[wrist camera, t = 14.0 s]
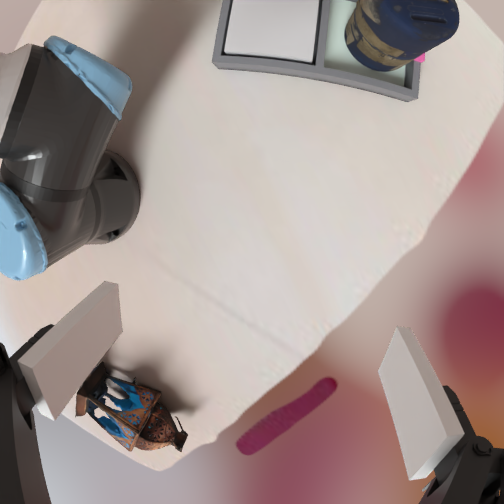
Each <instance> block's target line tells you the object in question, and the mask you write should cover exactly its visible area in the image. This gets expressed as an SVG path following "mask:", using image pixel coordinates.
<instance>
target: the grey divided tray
mask: <svg viewBox="0 0 504 504" xmlns="http://www.w3.org/2000/svg"><path fill="white" fill-rule="evenodd" d="M357 1H358V0H223V2H222V8H221V13H220V18H219V23H218V29H217V34H216V40H215V46H214V52H213V58H212V63H213V64H214V65H215V66H216V67H217V68H218V69H228V70H242V71H254V72H264V73H273V74H281V75H288V76H295V77H301V78H308V79H313V80H319V81H324V82H330V83H335V84H339V85H344V86H349V87H353V88H357V89H362V90H366V91H370V92H374V93H377V94H381V95H385V96H388V97H392V98H395V99H399V100H402V101H405V102H409V101H412V100H416V99H418V91H419V79H420V62H421V63H422V62H423V61H425V53H423V54H422V55H421V56H419V57H417V58H416V59H414V60H412V61H411V62H409V63H407V64H406V65H404V66H402V67H401V68H399V69H396V70H394V71H389V72H381V71H376V70H372V69H370V68H367V67H366V66H364V65H362V64H361V63H360V62H358V61H357V60H356V59H355V58H354V57H353V56H352V54H351V53H350V51H349V50H348V48H347V46H346V43H345V38H344V32H345V27H346V25H347V23H348V20H349V19H350V17H351V15H352V13H353V11H354V9H355V7H356V3H357Z"/></svg>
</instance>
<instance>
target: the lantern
mask: <svg viewBox="0 0 504 504" xmlns="http://www.w3.org/2000/svg"><path fill="white" fill-rule="evenodd" d="M106 378H109V379H111V380H112V381H113V382H114V383H116V384H118V385H119V386H120V387H121V388H122V389H123V390H124V391H126V392H127V394H128V395H129V396H130V398H129V399H118V398H116V397H114V396H112V395H111V394H109V393H107V391H108V387H107V384H106V383H105V382H104V380H105V379H106ZM104 395H105V396H107V397H108V398H110V400H111V401H112V402H114V404H115V405H116V406H117V407H120V408H121V410H122V411H119V410H115V409H112V408H110V407H109V406H106V405H105V400H106V399H105V398H103V396H104ZM160 395H161V392H159V391H156V390H153V389H150V388H146V387H143V386H139V385H136V377H135V378H134V381H133V383H130V382H127V381H124V380H121V379H118V378H115V377H112V376H110V375H108V374H106V371H105V368H104V362H102V363H100V364H99V365H98V366H97V367H96V368H94V369H93V370H92V371H91V373H90V374H89V375H88V377H87V378H86V379H85V381H84V382H83V383H82V385H81V386H80V388H79V390H78V392H77V396H76V411H75V412H76V415H75V418H76V416H83V415H85V414H86V412H87V413H88V414H89V415H90V416H91V417H92V418H93V419H94V420H95V421H96V422H97V423H98V424H99V425H100V426H101V427H102V428H103V429H104V430H106V431H107V432H108V433H109V434H110V435H111V436H112V437H113V438H114V439H115V440H116V441H118V442H119V443H120V444H121V445H122V446H124V447H125V448H126V449H127V450H128V451H130V452H131V451H132V449H133V447H137V448H139V449H141V450H155V449H160V448H162V447H165V446H168V445H173V446H175V448H176V449H177V450H178V451H180V452H182V448H183V445H184V443H185V441H186V439H187V436H188V434H187V433H186V432H185V431H184V430H183V429H182V426H181V424H180V422H179V420H178V418H177V417H176V418H177V420H178V422H179V425H180V427H181V429H182V431H181V432H179V431H178V430H177V427H176V425H175V423H174V421H173V419H172V416H171V414H170V413H169V411H168V410H167V409H166V408H165V407H164V406H163V405H162V404H160V403H158V402H157V401H158V399H159V397H160ZM98 407H99V408H100V409H101V410H102V411H105V412H106V414H107V415H108V417H109V418H110V419H108V418H106V417H105V416H102V417H101V418H97V417H96V416H95V415H94V414H95V413H94V410H95V409H96V408H98Z"/></svg>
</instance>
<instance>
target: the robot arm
mask: <svg viewBox="0 0 504 504" xmlns="http://www.w3.org/2000/svg"><path fill="white" fill-rule="evenodd" d="M43 45H44V47H40V46H37V45H33V44H29V43H28V44H26V45H24V46H22V47H21V48H19V49H17V50H15V51H14V52H12V53H9V54H4V53H0V158H2V159H3V160H2V164H1V169H0V272H1V273H2V274H4V275H5V276H7V277H9V278H11V279H14V280H25V279H28V278H30V277H32V276H34V275H36V274H40V273H42V272H44V271H45V270H46V268H48V267H49V266H51V265H52V264H54V263H55V262H57V261H59V260H60V259H62V258H63V257H65V256H67V255H68V254H70V253H72V252H73V251H75V250H77V249H78V248H80V247H82V246H83V245H86V244H106V243H109V242H112V241H114V240H116V239H117V238H119V237H121V236H122V235H124V234H125V233H126V232H127V231H128V230H129V229H130V228H131V226H132V225H133V223H134V221H135V219H136V217H137V214H138V210H139V204H140V192H139V186H138V182H137V179H136V176H135V174H134V172H133V170H132V169H131V167H130V166H129V164H128V163H127V162H126V161H125V160H124V159H123V158H122V157H120V156H119V155H117V154H116V153H114V152H111V151H107V150H105V149H106V147H107V145H108V143H109V140H110V138H111V136H112V134H113V132H114V130H115V127H116V125H117V123H118V121H120V120H121V118H122V115H121V114H122V112H123V109H124V107H125V105H126V103H127V101H128V98H129V96H130V94H131V92H132V82H131V79H130V77H129V76H128V75H127V74H125V73H124V72H123V71H121V70H120V69H118V68H116V67H115V66H113V65H111V64H110V63H108V62H106V61H105V60H103V59H101V58H99V57H97V56H96V55H94V54H92V53H90V52H88V51H86V50H84V49H82V48H80V47H77V46H76V45H74V44H72V43H70V42H68V41H66V40H64V39H62V38H60V37H57V36H51V37H49V38H48V40H46V41H45V42H44V44H43ZM122 332H123V330H122V321H121V312H120V301H119V289H118V284H116V283H111V282H107V281H104V282H103V283H102V284H101V285H100V286H98V287H97V288H96V289H95V290H94V291H93V292H91V293H90V294H89V295H88V296H87V297H86V298H85V299H83V300H82V301H81V302H80V303H79V304H78V305H77V306H76V307H74V308H73V309H72V310H71V311H70V312H69V313H68V314H67V315H65V316H64V317H63V318H62V319H61V320H60V321H59V322H58V323H57V324H56V325H52V324H50V325H48V326H46V327H44V328H42V329H40V330H39V331H38V332H37V333H36V334H35V335H34V337H31V338H30V339H29V340H28V342H26V343H25V344H24V345H23V346H22V347H21V348H20V349H19V350H18V351H16V352H15V353H14V354H13V355H12V356H11V357H10V358H9V357H8V354H7V352H6V349H5V346H4V345H3V344H2V343H0V504H51V501H50V497H49V493H48V489H47V486H46V481H45V477H44V473H43V469H42V464H41V459H40V453H39V448H38V442H37V436H36V429H35V422H34V414H33V411H32V408H33V406H34V405H35V404H36V406H37V408H38V410H39V412H40V413H41V414H42V415H44V416H46V417H48V418H50V419H52V420H54V421H55V420H56V419H57V417H58V416H59V415H60V413H61V412H62V411H63V409H64V408H65V406H66V405H67V404H68V402H69V401H70V400H71V398H72V397H73V395H74V394H75V393H76V391H77V390H78V389H79V387H80V386H81V385H82V383H83V382H84V381H85V379H86V378H87V377H88V375H89V374H90V373H91V371H92V370H93V369H94V368H95V366H96V365H97V364H98V362H99V361H100V360H101V358H102V357H103V356H104V355H105V353H106V352H107V351H108V349H109V348H110V347H111V346H112V344H113V343H114V342H115V341H116V339H117V338H118V337H119V335H120V334H121V333H122ZM378 373H379V376H380V379H381V382H382V385H383V388H384V392H385V395H386V398H387V401H388V405H389V408H390V411H391V415H392V418H393V422H394V425H395V428H396V432H397V435H398V439H399V443H400V447H401V450H402V454H403V458H404V462H405V466H406V470H407V474H408V478H409V480H415V479H421V478H426V477H427V476H428V475H429V474H430V473H431V472H432V471H433V470H434V471H435V475H436V477H435V478H434V479H432V480H431V482H429V483H428V484H427V485H426V486H425V487H424V488H423V490H422V491H425V490H426V489H427V488H428V489H427V490H426V492H425V494H424V496H423V497H422V499H421V501H420V503H419V504H504V449H500V448H493V446H492V444H491V443H490V442H489V441H488V440H487V439H486V438H484V437H481V436H476V434H475V432H474V430H473V428H472V426H471V424H470V421H469V419H468V417H467V415H466V413H465V412H464V411H463V407H462V405H461V404H460V401H459V399H458V398H457V395H456V394H455V393H454V392H453V391H452V390H451V389H450V388H449V387H448V386H442V385H441V383H440V381H439V379H438V377H437V375H436V373H435V371H434V369H433V368H432V366H431V364H430V362H429V360H428V358H427V356H426V355H425V353H424V351H423V349H422V347H421V345H420V344H419V342H418V340H417V338H416V337H415V335H414V333H413V331H412V330H411V328H409V327H396V330H395V332H394V334H393V337H392V340H391V342H390V344H389V347H388V350H387V352H386V354H385V356H384V359H383V361H382V364H381V366H380V368H379V370H378ZM499 490H500V496H499Z"/></svg>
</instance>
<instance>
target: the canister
mask: <svg viewBox="0 0 504 504" xmlns="http://www.w3.org/2000/svg"><path fill="white" fill-rule="evenodd" d="M458 26H459V11H458V7H457V4H456V2H455V0H358V1H357V3H356V7H355V9H354V11H353V13H352V15H351V17H350V19H349V20H348V23H347V25H346V27H345V32H344V38H345V43H346V46H347V48H348V50H349V51H350V53H351V54H352V56H353V57H354V58H355V59H356V60H357V61H358V62H360V63H361V64H362V65H364V66H366V67H367V68H370V69H372V70H376V71H381V72H389V71H394V70H396V69H399V68H401V67H402V66H404V65H406V64H407V63H409V62H411V61H412V60H414V59H416V58H417V57H419V56H421V55H422V54H423V53H425V52H427V51H429V50H431V49H432V48H434V47H436V46H438V45H439V44H441V43H443V42H445V41H446V40H448V39H449V38H451V37H452V36H453V35H454V34H455V32H456V30H457V29H458Z"/></svg>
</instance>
